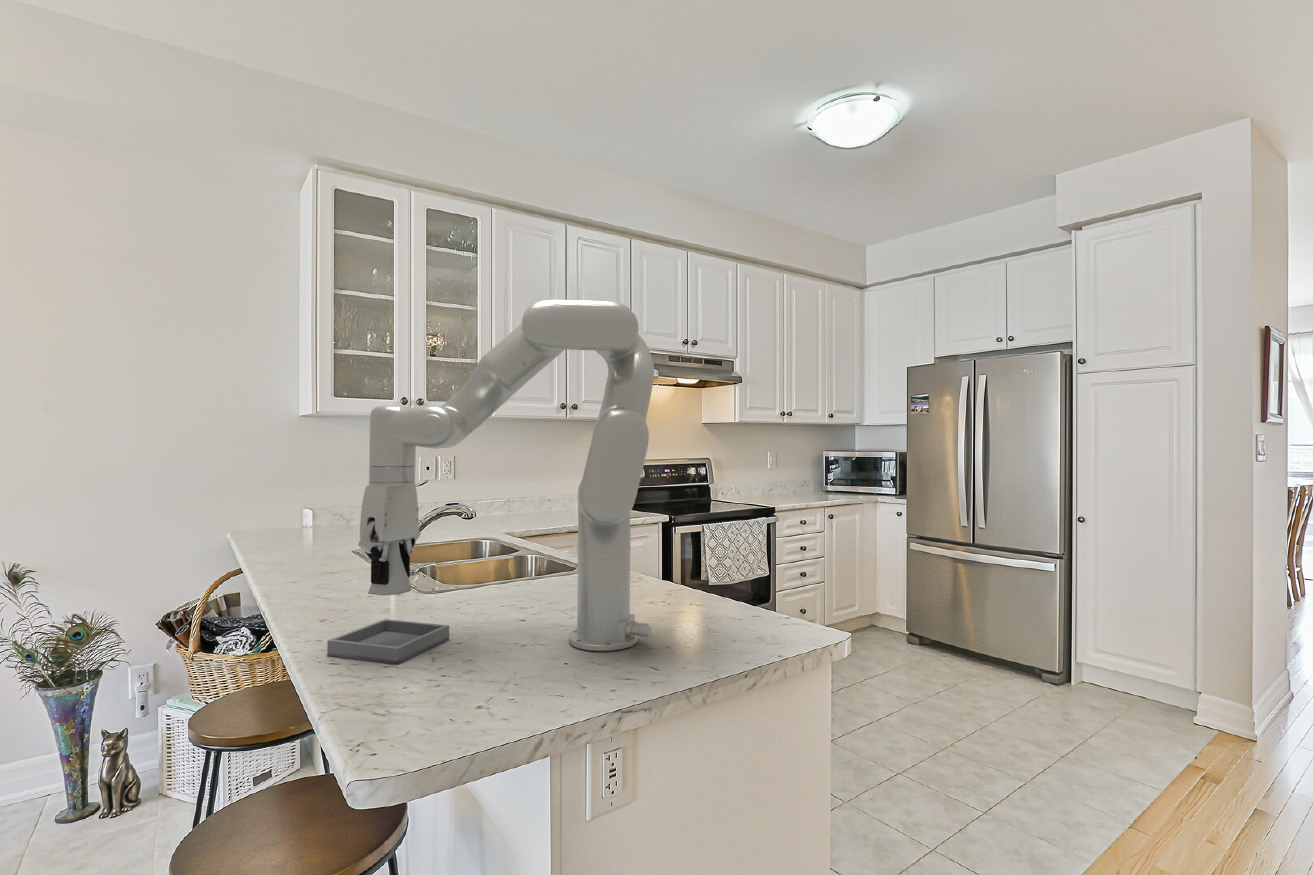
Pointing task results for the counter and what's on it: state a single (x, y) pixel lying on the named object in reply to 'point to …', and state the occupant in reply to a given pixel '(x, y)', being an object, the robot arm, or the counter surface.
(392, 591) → the flask
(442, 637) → the tray
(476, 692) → the counter surface
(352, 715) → the counter surface
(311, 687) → the counter surface
